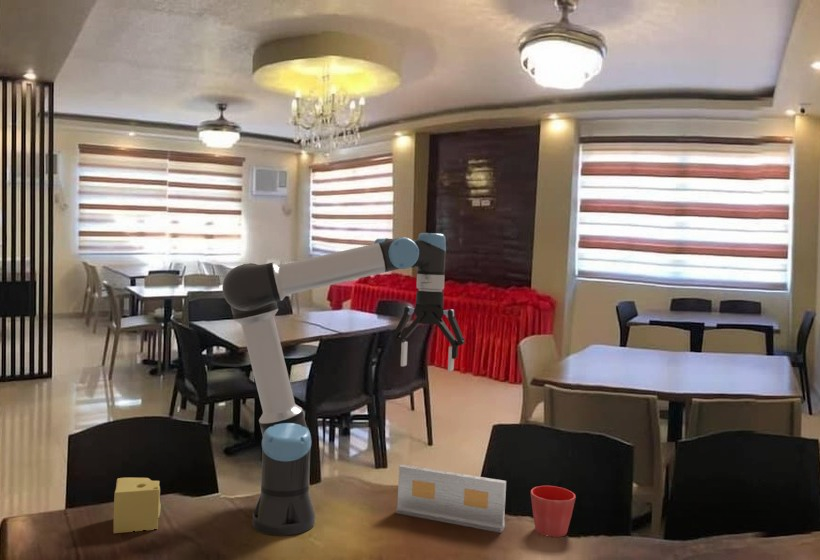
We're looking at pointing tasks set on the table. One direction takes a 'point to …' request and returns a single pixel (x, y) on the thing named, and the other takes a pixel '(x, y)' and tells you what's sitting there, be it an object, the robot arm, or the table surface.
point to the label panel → (452, 497)
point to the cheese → (136, 505)
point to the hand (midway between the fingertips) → (426, 368)
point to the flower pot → (552, 509)
